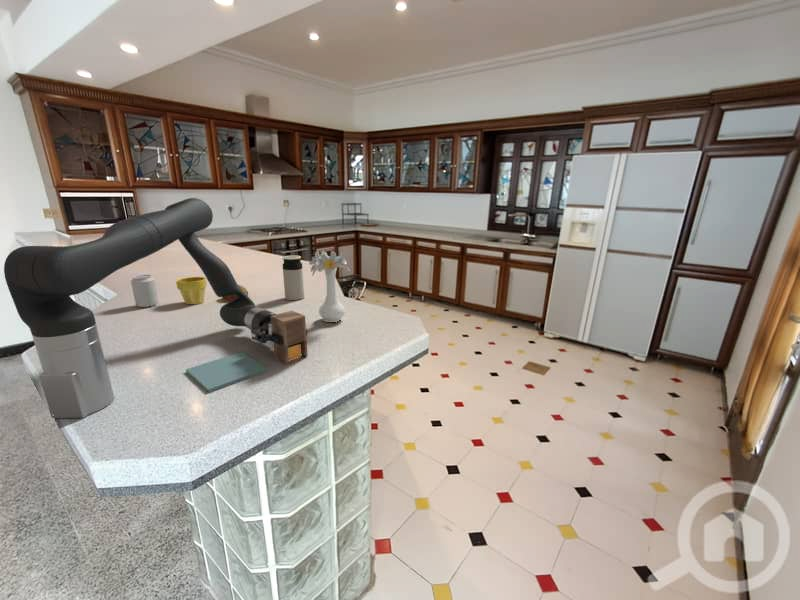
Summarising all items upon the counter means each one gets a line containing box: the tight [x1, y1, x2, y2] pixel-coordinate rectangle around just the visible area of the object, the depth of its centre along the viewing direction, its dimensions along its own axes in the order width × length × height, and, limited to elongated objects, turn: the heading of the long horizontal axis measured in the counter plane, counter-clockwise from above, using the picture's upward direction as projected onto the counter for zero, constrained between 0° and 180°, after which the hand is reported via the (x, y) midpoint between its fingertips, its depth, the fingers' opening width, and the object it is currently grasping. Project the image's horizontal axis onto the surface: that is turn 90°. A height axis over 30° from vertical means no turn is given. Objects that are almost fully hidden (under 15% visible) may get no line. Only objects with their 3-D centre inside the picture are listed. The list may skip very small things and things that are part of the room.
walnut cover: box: [271, 310, 309, 365], centre depth 95 cm, size 6×6×12 cm
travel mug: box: [282, 255, 305, 301], centre depth 149 cm, size 8×8×18 cm
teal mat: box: [185, 351, 268, 394], centre depth 88 cm, size 14×14×1 cm
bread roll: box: [221, 284, 249, 302], centre depth 149 cm, size 10×10×8 cm
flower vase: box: [308, 250, 351, 323], centre depth 122 cm, size 13×18×25 cm
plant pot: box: [175, 276, 207, 305], centre depth 142 cm, size 10×10×10 cm
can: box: [130, 274, 160, 308], centre depth 137 cm, size 8×8×12 cm
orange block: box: [288, 343, 302, 361], centre depth 96 cm, size 4×4×4 cm
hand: (294, 337), depth 93 cm, fingers open, 6 cm apart
